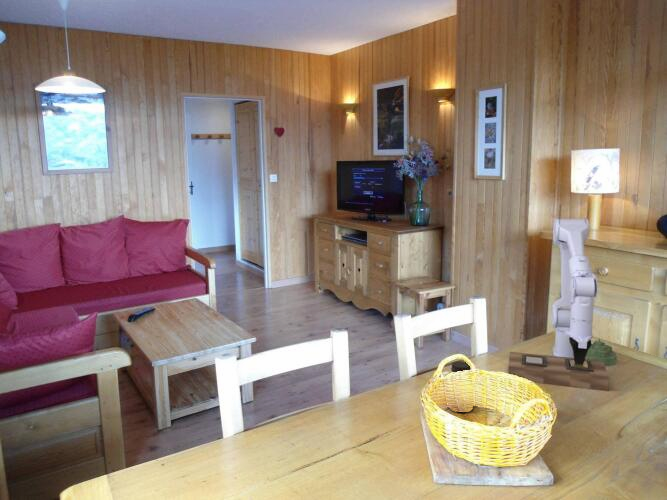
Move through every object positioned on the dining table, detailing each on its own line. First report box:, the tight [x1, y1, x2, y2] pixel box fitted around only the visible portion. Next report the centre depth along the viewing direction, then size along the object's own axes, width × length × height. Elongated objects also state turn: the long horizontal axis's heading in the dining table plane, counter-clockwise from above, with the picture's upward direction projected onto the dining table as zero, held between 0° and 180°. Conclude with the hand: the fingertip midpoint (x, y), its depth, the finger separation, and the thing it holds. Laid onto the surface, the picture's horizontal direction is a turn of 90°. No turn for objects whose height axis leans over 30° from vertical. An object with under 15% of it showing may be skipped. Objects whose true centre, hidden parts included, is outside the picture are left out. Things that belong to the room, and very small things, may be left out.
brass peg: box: [569, 360, 588, 369], centre depth 151 cm, size 4×4×4 cm
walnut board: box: [507, 351, 610, 392], centre depth 153 cm, size 12×26×4 cm, turn 70°
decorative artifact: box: [585, 338, 618, 367], centre depth 164 cm, size 10×7×10 cm
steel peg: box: [526, 356, 542, 364], centre depth 155 cm, size 4×4×4 cm
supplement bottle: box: [450, 360, 472, 372], centre depth 136 cm, size 7×7×12 cm
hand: (578, 363), depth 150 cm, fingers closed, pressing on brass peg
